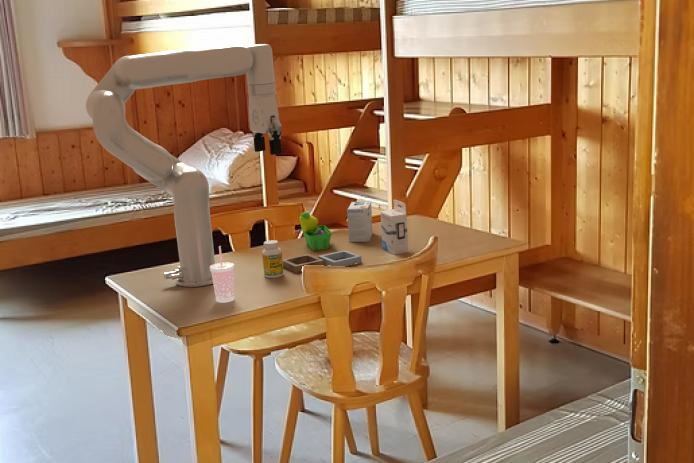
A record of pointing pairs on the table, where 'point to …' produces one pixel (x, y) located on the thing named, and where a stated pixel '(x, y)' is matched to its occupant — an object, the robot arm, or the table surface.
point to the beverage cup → (223, 280)
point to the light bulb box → (359, 221)
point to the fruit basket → (314, 232)
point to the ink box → (394, 229)
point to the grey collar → (349, 256)
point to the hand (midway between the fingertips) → (267, 152)
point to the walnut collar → (291, 262)
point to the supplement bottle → (272, 259)
